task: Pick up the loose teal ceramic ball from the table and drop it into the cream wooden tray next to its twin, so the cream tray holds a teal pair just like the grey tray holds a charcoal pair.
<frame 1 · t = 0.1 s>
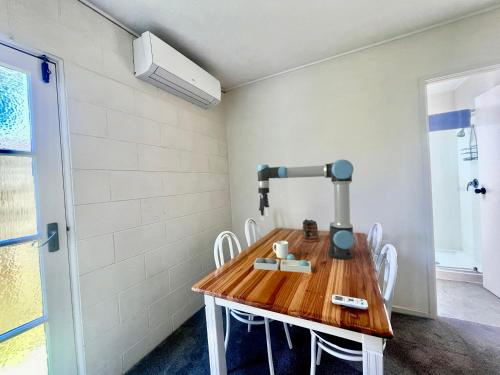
hand: (264, 218, 140), 28 cm above the table, fingers open, 13 cm apart
tray cream: (295, 269, 121), on the table
beer stein: (309, 240, 177), on the table
charcoal ball b: (261, 266, 126), point 1 cm above the table, touching tray grey
teal ball in tray: (303, 269, 120), point 1 cm above the table, touching tray cream
charcoal ball a: (271, 267, 125), point 1 cm above the table, touching tray grey
teal ball: (290, 262, 132), on the table
cup: (280, 256, 143), on the table
tray grey: (266, 267, 125), on the table
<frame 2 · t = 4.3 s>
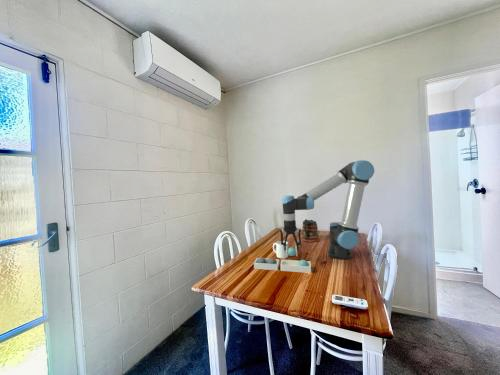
hand: (291, 255, 131), 5 cm above the table, fingers closed on teal ball, 5 cm apart
teal ball: (291, 255, 131), point 4 cm above the table, touching gripper
everything else where it was.
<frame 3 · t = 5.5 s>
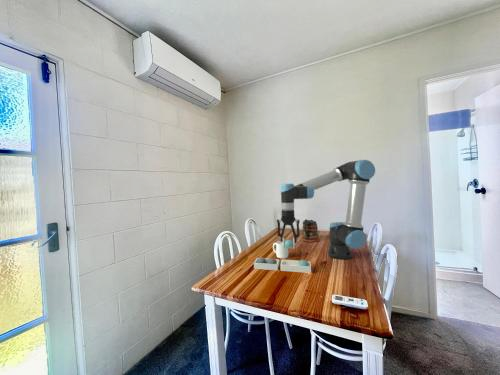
hand: (288, 247, 122), 13 cm above the table, fingers closed on teal ball, 5 cm apart
teal ball: (288, 248, 122), point 13 cm above the table, touching gripper
everything else where it was.
when the fingers open (4 cm above the table, at t = 6.7 s): teal ball drops 3 cm, resting on tray cream.
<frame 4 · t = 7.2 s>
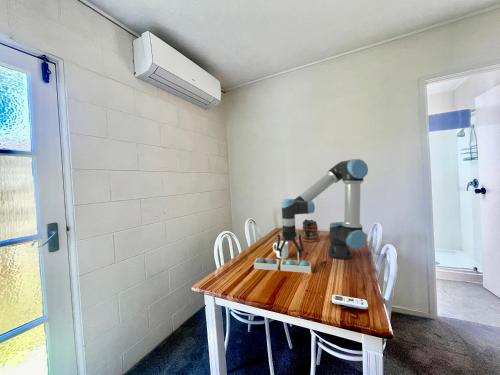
hand: (290, 262, 122), 4 cm above the table, fingers open, 9 cm apart
teal ball in tray: (303, 269, 120), point 1 cm above the table, touching gripper, tray cream
teal ball: (289, 268, 122), point 1 cm above the table, touching tray cream
everything else where it was.
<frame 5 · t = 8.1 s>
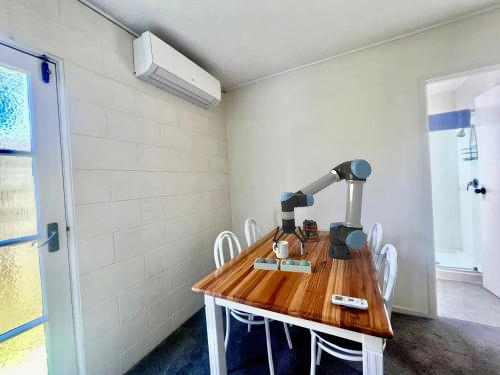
hand: (290, 253, 122), 10 cm above the table, fingers open, 13 cm apart
teal ball in tray: (303, 269, 120), point 1 cm above the table, tilted 7°, touching tray cream
everything else where it was.
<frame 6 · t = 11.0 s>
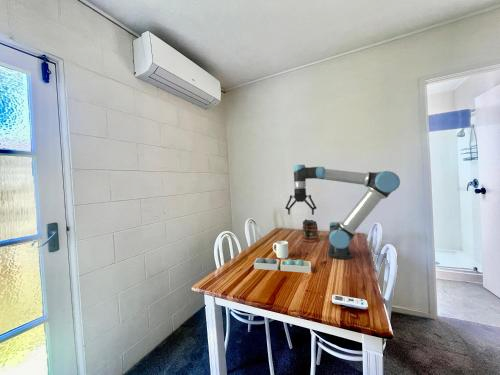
hand: (300, 219, 137), 27 cm above the table, fingers open, 13 cm apart
teal ball in tray: (303, 267, 120), point 1 cm above the table, tilted 48°, touching tray cream
everything else where it was.
at the end: teal ball inside the target area on the tray cream (3.5 cm from its centre), point 0.6 cm above the tray cream's base; teal ball in tray inside the target area on the tray cream (4.2 cm from its centre), point 1.5 cm above the tray cream's base; the gripper is holding nothing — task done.
